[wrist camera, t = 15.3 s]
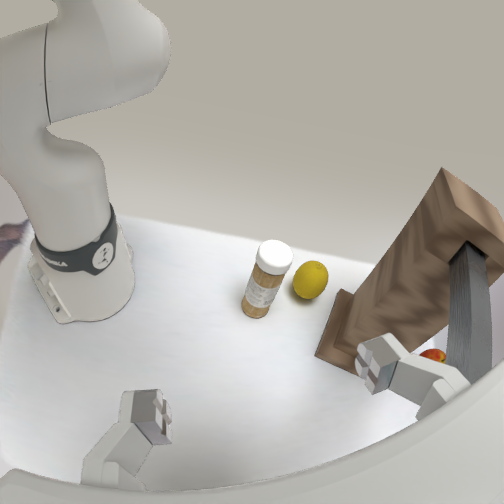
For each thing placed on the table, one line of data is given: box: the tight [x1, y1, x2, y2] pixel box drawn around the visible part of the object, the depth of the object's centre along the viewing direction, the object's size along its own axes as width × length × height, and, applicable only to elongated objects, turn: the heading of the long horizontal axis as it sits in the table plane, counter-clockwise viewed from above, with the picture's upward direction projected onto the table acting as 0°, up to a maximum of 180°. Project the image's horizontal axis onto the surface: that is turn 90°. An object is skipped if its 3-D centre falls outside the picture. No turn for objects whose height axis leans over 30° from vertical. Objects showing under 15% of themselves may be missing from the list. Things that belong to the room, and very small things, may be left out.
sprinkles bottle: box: [242, 240, 293, 318], centre depth 39 cm, size 5×5×13 cm
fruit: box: [419, 349, 446, 364], centre depth 37 cm, size 7×7×8 cm
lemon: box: [293, 261, 328, 299], centre depth 45 cm, size 6×6×8 cm
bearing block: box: [315, 168, 504, 377], centre depth 33 cm, size 14×14×30 cm
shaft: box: [445, 240, 492, 385], centre depth 19 cm, size 3×24×3 cm, turn 153°
